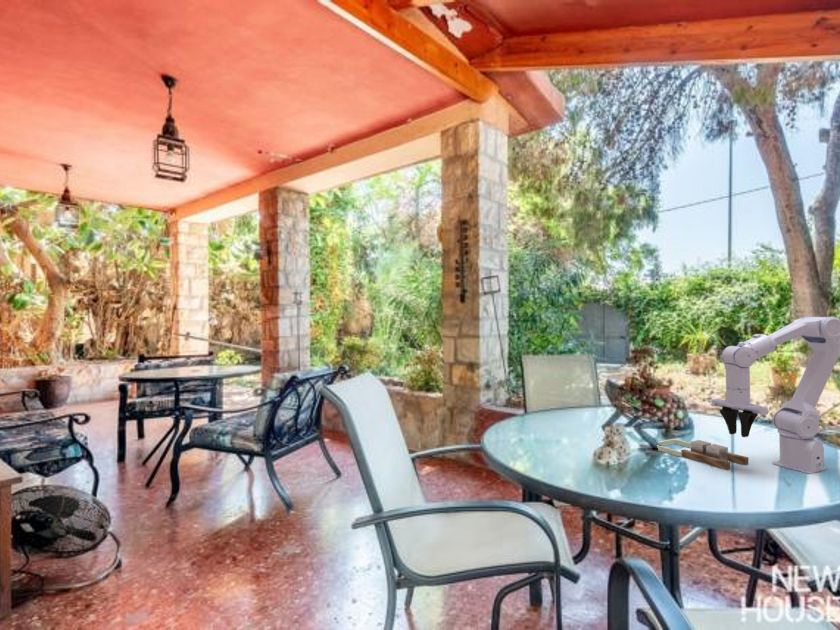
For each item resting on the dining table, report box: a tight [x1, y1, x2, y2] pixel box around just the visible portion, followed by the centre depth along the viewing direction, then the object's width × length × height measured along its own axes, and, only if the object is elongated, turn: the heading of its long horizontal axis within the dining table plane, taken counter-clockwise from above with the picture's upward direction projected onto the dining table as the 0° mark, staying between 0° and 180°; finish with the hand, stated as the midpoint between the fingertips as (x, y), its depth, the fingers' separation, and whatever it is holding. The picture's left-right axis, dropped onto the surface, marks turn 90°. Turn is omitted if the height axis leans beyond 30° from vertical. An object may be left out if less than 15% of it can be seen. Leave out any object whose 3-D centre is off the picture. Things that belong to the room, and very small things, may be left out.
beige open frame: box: [657, 438, 691, 458], centre depth 151 cm, size 11×12×2 cm
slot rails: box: [680, 448, 750, 471], centre depth 140 cm, size 14×10×2 cm
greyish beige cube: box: [690, 439, 712, 455], centre depth 144 cm, size 4×4×4 cm
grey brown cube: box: [706, 443, 729, 462], centre depth 140 cm, size 4×4×4 cm
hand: (738, 435), depth 134 cm, fingers open, 3 cm apart
